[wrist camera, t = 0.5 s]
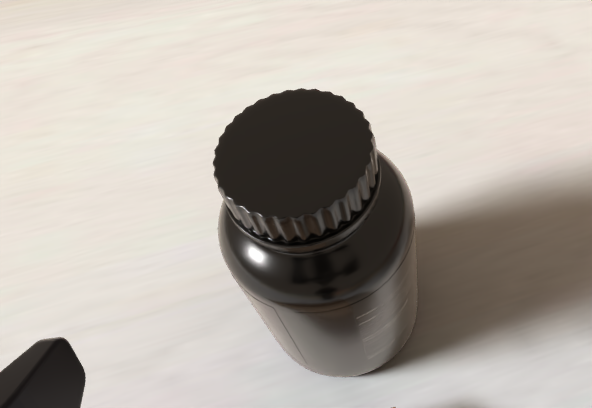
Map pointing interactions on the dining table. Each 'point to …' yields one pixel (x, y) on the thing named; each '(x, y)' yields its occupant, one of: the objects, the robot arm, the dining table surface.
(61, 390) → the robot arm
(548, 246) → the dining table surface
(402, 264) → the supplement bottle
